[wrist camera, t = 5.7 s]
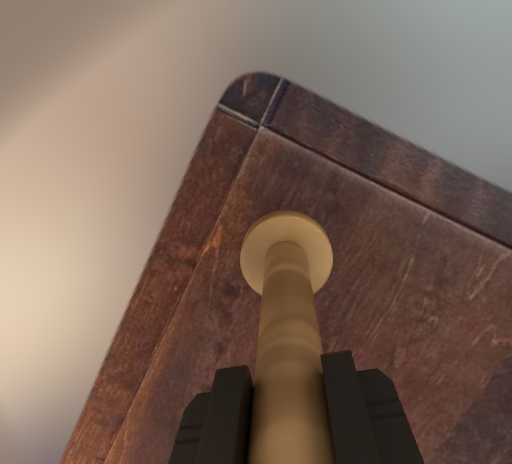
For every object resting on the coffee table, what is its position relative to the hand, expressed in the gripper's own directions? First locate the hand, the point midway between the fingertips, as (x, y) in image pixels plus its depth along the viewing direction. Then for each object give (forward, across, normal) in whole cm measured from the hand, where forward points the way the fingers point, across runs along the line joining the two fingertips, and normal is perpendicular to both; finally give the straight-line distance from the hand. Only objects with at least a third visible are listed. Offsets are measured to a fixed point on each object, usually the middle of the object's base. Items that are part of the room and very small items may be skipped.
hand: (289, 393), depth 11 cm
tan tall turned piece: (+10, 0, 0) cm, 10 cm away
